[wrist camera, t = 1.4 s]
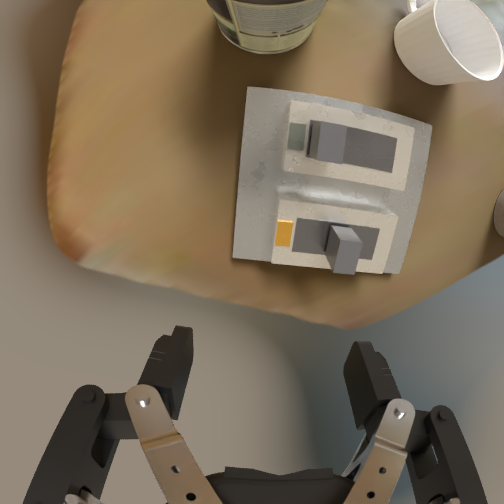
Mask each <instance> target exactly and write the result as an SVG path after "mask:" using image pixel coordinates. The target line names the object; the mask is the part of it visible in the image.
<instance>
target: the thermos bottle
mask: <svg viewBox="0 0 504 504" xmlns="http://www.w3.org/2000/svg"><path fill="white" fill-rule="evenodd" d="M494 225H495V229H496V231H497V232H498V234H499V235H501V236H502V237H504V190H503V191H502V192H501V193H500V195H499V197H498V199H497V202H496V205H495V209H494Z"/></svg>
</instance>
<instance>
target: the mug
mask: <svg viewBox="0 0 504 504" xmlns="http://www.w3.org/2000/svg"><path fill="white" fill-rule="evenodd" d="M416 1H417V0H407V5H408V10H409V13H410V14H409V15H407V16H406V17H404V18H403V19H402V20H400V21H399V22H398V24H397V25H396V27H395V30H394V44H395V48H396V51H397V54H398V56H399V58H400V60H401V61H402V63H403V64H404V65H405V67H406V68H407V69H408V70H409V71H410V72H411V73H412V74H413V75H414V76H416V77H417V78H418V79H420V80H421V81H423V82H426V83H428V84H431V85H446V84H454V83H463V82H473V81H486V80H492V79H495V78H496V77H498V75H499V74H500V73H501V70H502V68H503V61H504V59H503V50H502V45H501V42H500V39H499V36H498V34H497V32H496V30H495V28H494V26H493V25H492V23H491V22H490V20H489V19H488V18H487V16H486V15H485V14H484V13H483V12H482V11H481V10H480V9H479V8H478V7H477V6H476V5H475V4H474V3H473V2H471V1H470V0H431V1H430V2H428V3H426V4H425V5H423V6H422V7H420V8H418V9H417V8H416Z"/></svg>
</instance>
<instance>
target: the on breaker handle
mask: <svg viewBox="0 0 504 504" xmlns="http://www.w3.org/2000/svg"><path fill="white" fill-rule="evenodd" d="M346 133H347V126H345V125H340V124H335V123H330V122H324V121H317V122H313V127H312V135H311V143H310V151H309V156H310V157H312V158H313V159H315V160H317V161H324V162H330V163H336V164H342V162H343V155H344V148H345V141H346Z"/></svg>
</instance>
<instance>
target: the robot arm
mask: <svg viewBox="0 0 504 504" xmlns="http://www.w3.org/2000/svg"><path fill="white" fill-rule="evenodd" d="M192 362H193V329H192V328H190V327H183V326H175V328H174V331H173V333H172V336H168V335H163V336H161V337H160V338H159V339H158V340H157V341H156V342H155V344H154V347H153V349H152V352H151V354H150V356H149V359H148V361H147V363H146V365H145V368H144V370H143V373H142V375H141V377H140V380H139V382H138V384H137V385H136V386H133V387H131V388H130V389H129V390H128V391H127V392H125V393H115V394H113V393H110V394H104V392H103V390H102V389H101V388H100V387H98V386H96V385H84V386H82V387H80V388H79V389H77V390H76V392H75V393H74V395H73V397H72V399H71V400H70V402H69V404H68V406H67V408H66V410H65V412H64V414H63V416H62V418H61V419H60V421H59V424H58V425H57V427H56V429H55V431H54V433H53V435H52V437H51V440H50V442H49V444H48V446H47V448H46V450H45V452H44V454H43V456H42V458H41V461H40V463H39V465H38V467H37V470H36V472H35V474H34V477H33V479H32V482H31V484H30V486H29V489H28V491H27V494H26V496H25V499H24V502H23V504H104V503H102V502H101V501H100V497H101V494H102V490H103V487H104V484H105V481H106V478H107V475H108V472H109V469H110V466H111V463H112V461H113V458H114V455H115V452H116V449H117V446H118V444H119V441H120V439H139V441H140V443H141V446H142V449H143V452H144V454H145V456H146V459H147V461H148V463H149V465H150V468H151V470H152V472H153V474H154V476H155V478H156V480H157V482H158V484H159V486H160V488H161V490H162V492H163V494H164V496H165V498H166V500H167V503H166V504H388V502H389V500H390V498H391V495H392V493H393V491H394V489H395V486H396V484H397V481H398V479H399V476H400V474H401V471H402V468H403V466H404V463H405V461H406V464H407V468H408V471H409V475H410V479H411V483H412V487H413V491H414V495H415V499H416V503H417V504H488V503H487V500H486V496H485V493H484V490H483V487H482V484H481V481H480V478H479V475H478V472H477V470H476V467H475V464H474V461H473V459H472V456H471V454H470V451H469V449H468V446H467V444H466V441H465V439H464V436H463V434H462V432H461V429H460V427H459V425H458V423H457V420H456V418H455V416H454V414H453V412H452V411H451V410H450V409H449V408H448V407H446V406H443V405H438V406H435V407H434V408H433V409H432V410H431V411H430V412H426V411H419V410H415V409H414V407H413V406H412V404H411V403H409V402H408V401H407V400H404V399H402V398H401V396H400V393H399V390H398V388H397V385H396V383H395V381H394V378H393V376H392V373H391V371H390V369H389V366H388V363H387V362H386V359H385V358H384V357H383V356H382V355H381V354H380V353H379V352H375V351H374V348H373V346H372V344H371V342H368V341H365V342H364V341H355V342H354V343H353V345H352V347H351V350H350V352H349V355H348V357H347V360H346V362H345V364H344V371H343V372H344V373H343V374H344V379H345V383H346V386H347V390H348V394H349V398H350V403H351V407H352V411H353V415H354V419H355V424H356V428H357V430H361V429H365V430H366V434H365V436H364V437H363V440H362V441H361V444H360V445H359V447H358V449H357V451H356V453H355V455H354V457H353V459H352V461H351V463H350V464H349V466H348V467H347V469H346V470H345V472H344V473H343V474H342V476H340V475H336V474H333V471H332V468H324V469H307V470H303V471H299V472H295V473H291V474H286V475H280V476H279V475H275V474H270V473H266V472H262V471H259V470H255V469H247V468H235V467H225V472H221V473H215V474H211V475H208V476H204V474H203V472H202V471H201V469H200V468H199V466H198V464H197V462H196V461H195V459H194V457H193V455H192V453H191V452H190V450H189V448H188V446H187V444H186V443H185V441H184V439H183V437H182V436H181V434H180V433H178V432H177V430H176V428H175V426H174V424H173V422H172V420H171V419H173V420H178V416H179V412H180V408H181V404H182V400H183V397H184V393H185V388H186V385H187V381H188V378H189V374H190V370H191V366H192ZM432 446H433V447H434V450H435V453H436V456H437V459H438V464H437V461H436V458H435V455H434V452H433V449H432Z"/></svg>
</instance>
